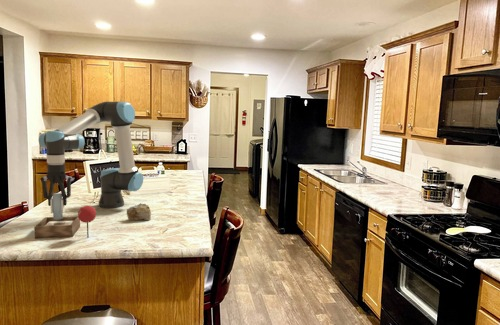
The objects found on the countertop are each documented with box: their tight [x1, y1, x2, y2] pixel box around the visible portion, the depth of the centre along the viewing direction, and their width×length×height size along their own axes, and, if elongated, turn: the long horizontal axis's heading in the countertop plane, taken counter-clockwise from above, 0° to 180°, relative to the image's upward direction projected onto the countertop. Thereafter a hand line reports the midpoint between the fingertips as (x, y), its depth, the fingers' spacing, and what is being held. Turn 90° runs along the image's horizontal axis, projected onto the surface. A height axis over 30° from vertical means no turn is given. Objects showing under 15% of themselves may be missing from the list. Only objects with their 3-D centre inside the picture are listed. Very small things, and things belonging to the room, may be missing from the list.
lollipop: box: [77, 205, 97, 239], centre depth 175 cm, size 8×8×15 cm
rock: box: [126, 202, 152, 221], centre depth 208 cm, size 12×7×10 cm, turn 92°
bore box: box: [33, 215, 81, 239], centre depth 183 cm, size 16×16×6 cm
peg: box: [52, 192, 64, 220], centre depth 181 cm, size 4×4×12 cm
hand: (57, 212), depth 182 cm, fingers closed on peg, 4 cm apart
